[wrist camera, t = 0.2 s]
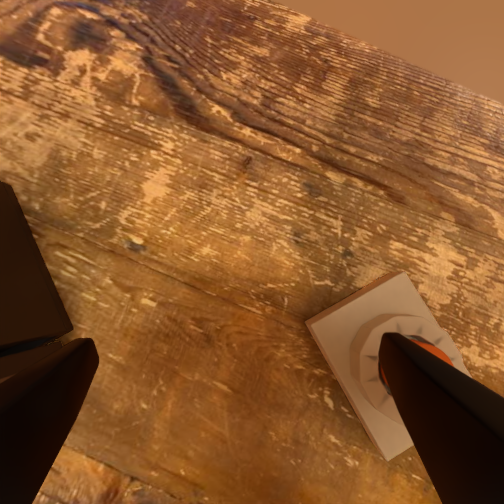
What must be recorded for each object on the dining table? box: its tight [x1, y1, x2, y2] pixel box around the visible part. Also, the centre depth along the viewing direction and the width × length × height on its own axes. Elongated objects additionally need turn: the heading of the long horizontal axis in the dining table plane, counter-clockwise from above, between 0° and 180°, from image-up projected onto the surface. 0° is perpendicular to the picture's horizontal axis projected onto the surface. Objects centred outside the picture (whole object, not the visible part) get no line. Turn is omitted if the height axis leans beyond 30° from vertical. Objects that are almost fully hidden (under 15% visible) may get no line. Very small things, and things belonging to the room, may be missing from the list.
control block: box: [305, 271, 472, 461], centre depth 19 cm, size 10×8×4 cm
